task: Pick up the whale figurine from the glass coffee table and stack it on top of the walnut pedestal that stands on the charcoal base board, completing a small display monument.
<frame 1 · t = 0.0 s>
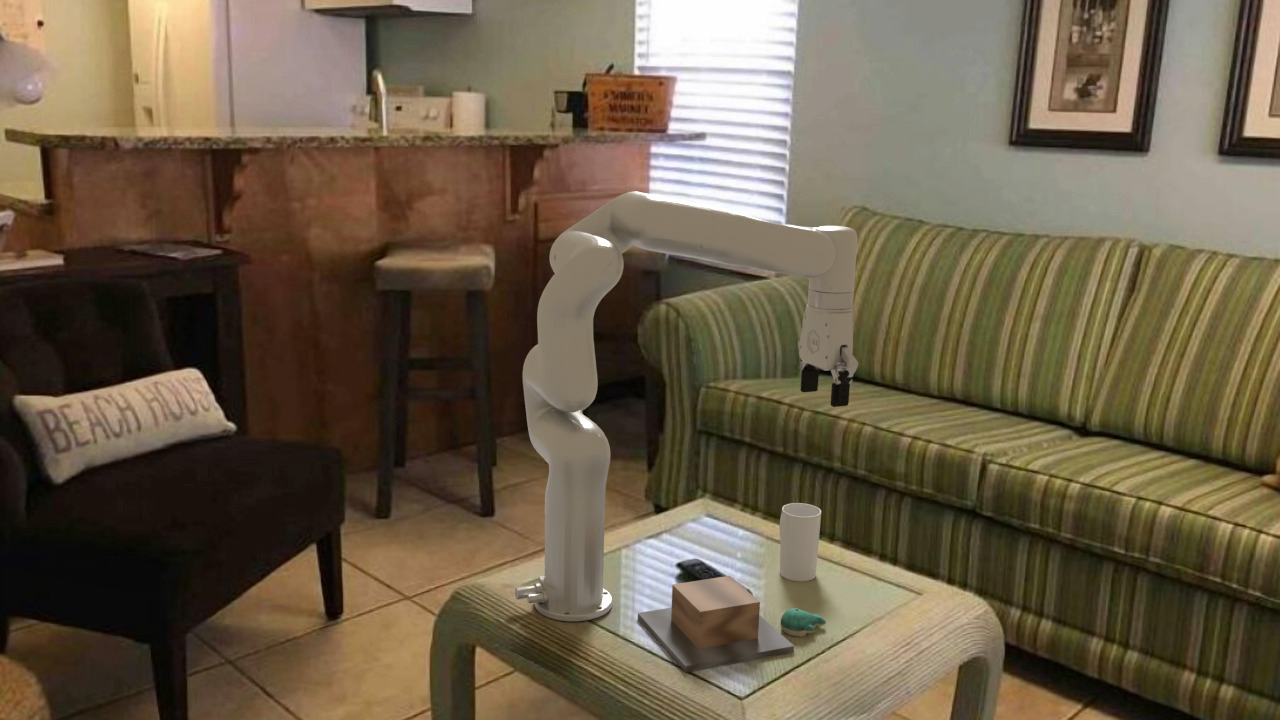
hand: (823, 398, 190), 31 cm above the table, fingers open, 9 cm apart
mug: (792, 571, 196), on the table
whale figurine: (802, 631, 175), on the table
display plinth: (713, 634, 172), on the table
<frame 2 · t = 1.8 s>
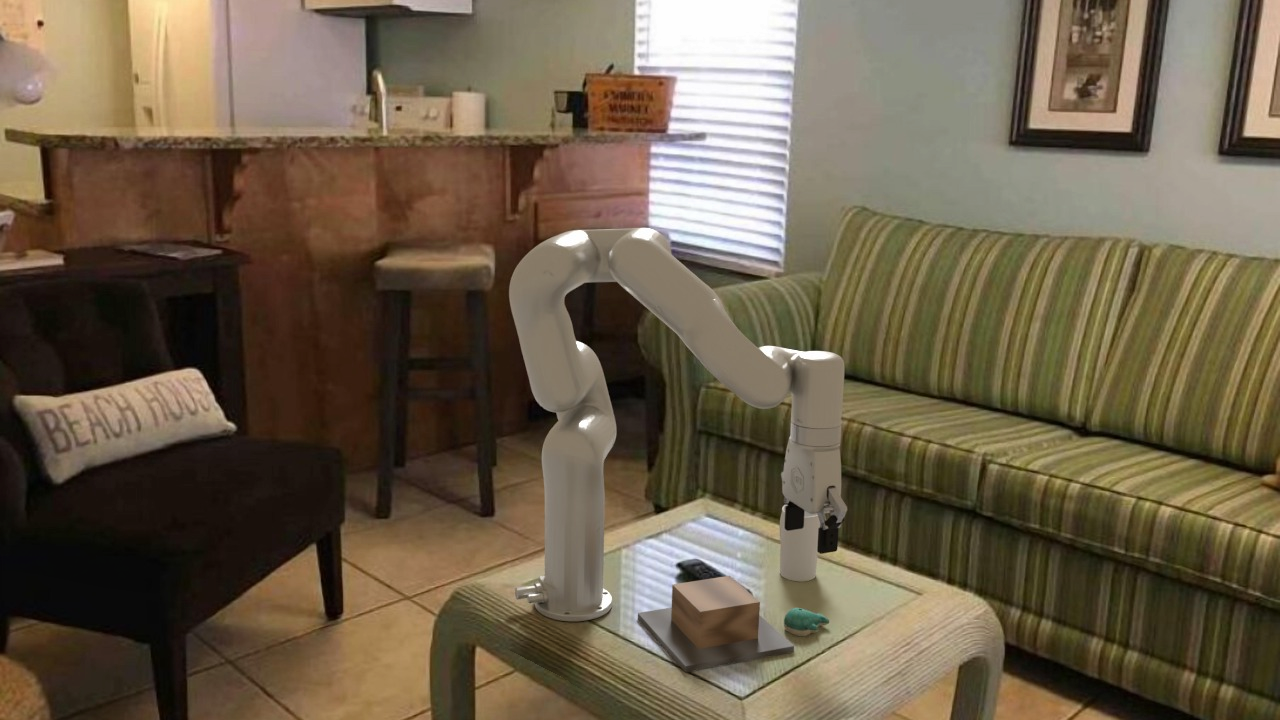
hand: (810, 540, 171), 15 cm above the table, fingers open, 9 cm apart
nothing on the table moved.
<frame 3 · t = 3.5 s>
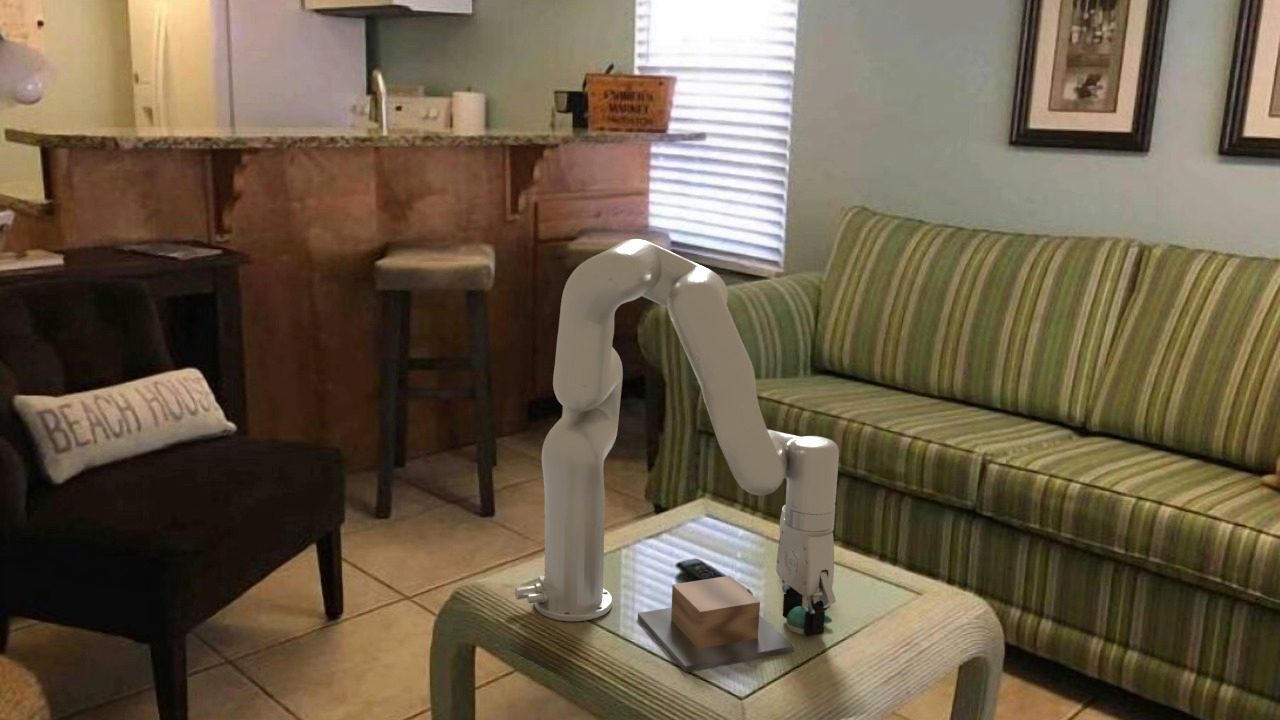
hand: (802, 624, 174), 1 cm above the table, fingers closed on whale figurine, 5 cm apart
whale figurine: (808, 629, 175), on the table, touching gripper
everything else where it was.
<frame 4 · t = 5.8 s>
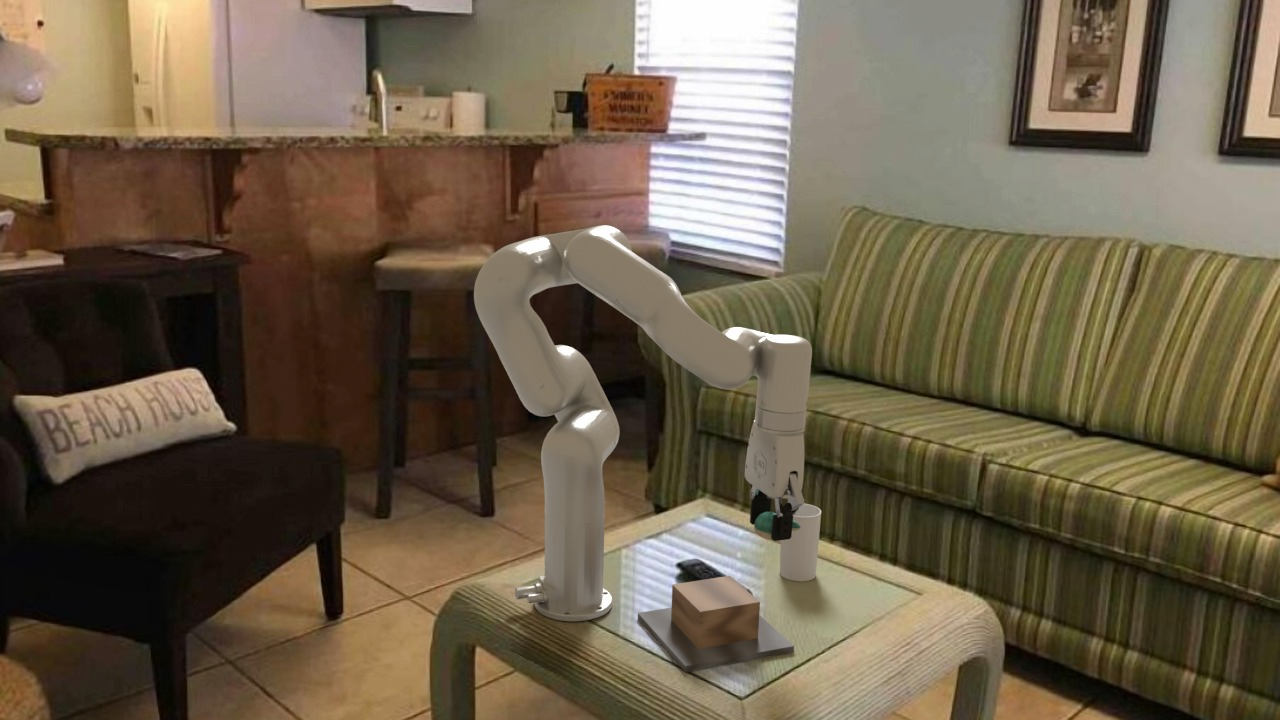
hand: (770, 530, 170), 17 cm above the table, fingers closed on whale figurine, 5 cm apart
whale figurine: (776, 536, 170), point 16 cm above the table, touching gripper
everything else where it was.
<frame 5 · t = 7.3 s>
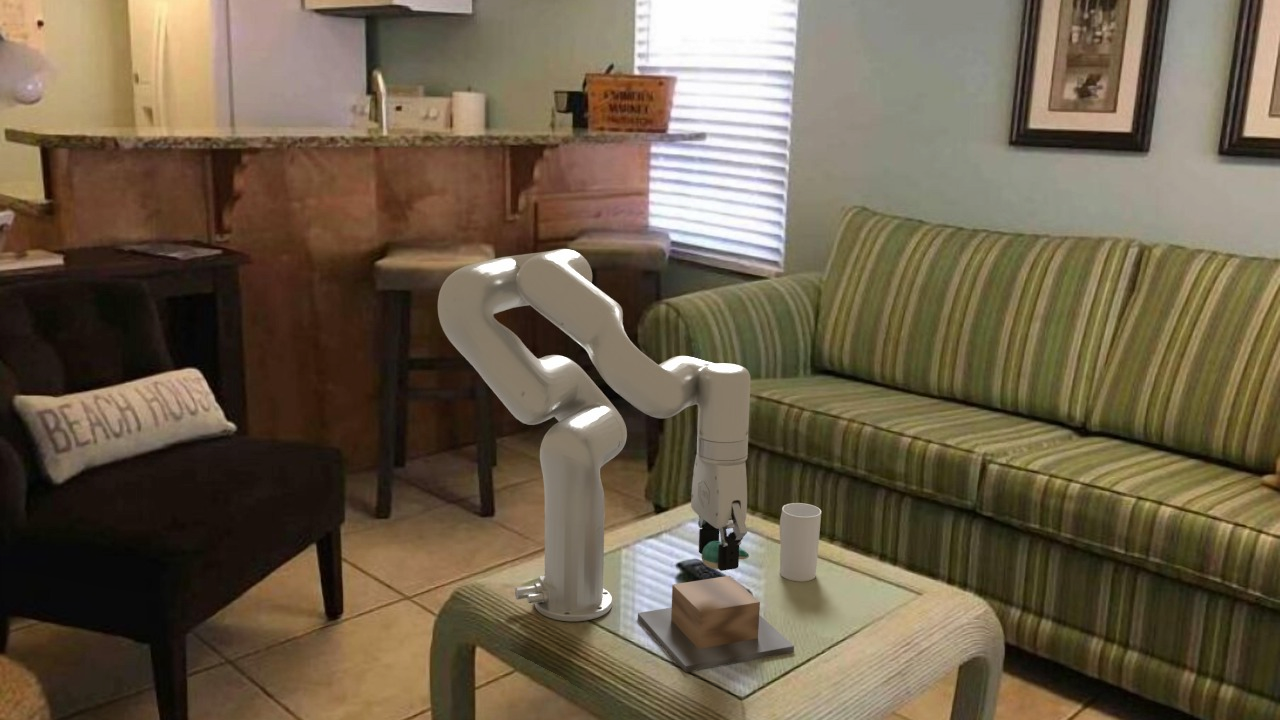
hand: (718, 559, 169), 13 cm above the table, fingers closed on whale figurine, 5 cm apart
whale figurine: (724, 565, 170), point 12 cm above the table, touching gripper
everything else where it was.
when the fingers open (9 cm above the table, at t = 8.4 s): whale figurine drops 1 cm, resting on display plinth.
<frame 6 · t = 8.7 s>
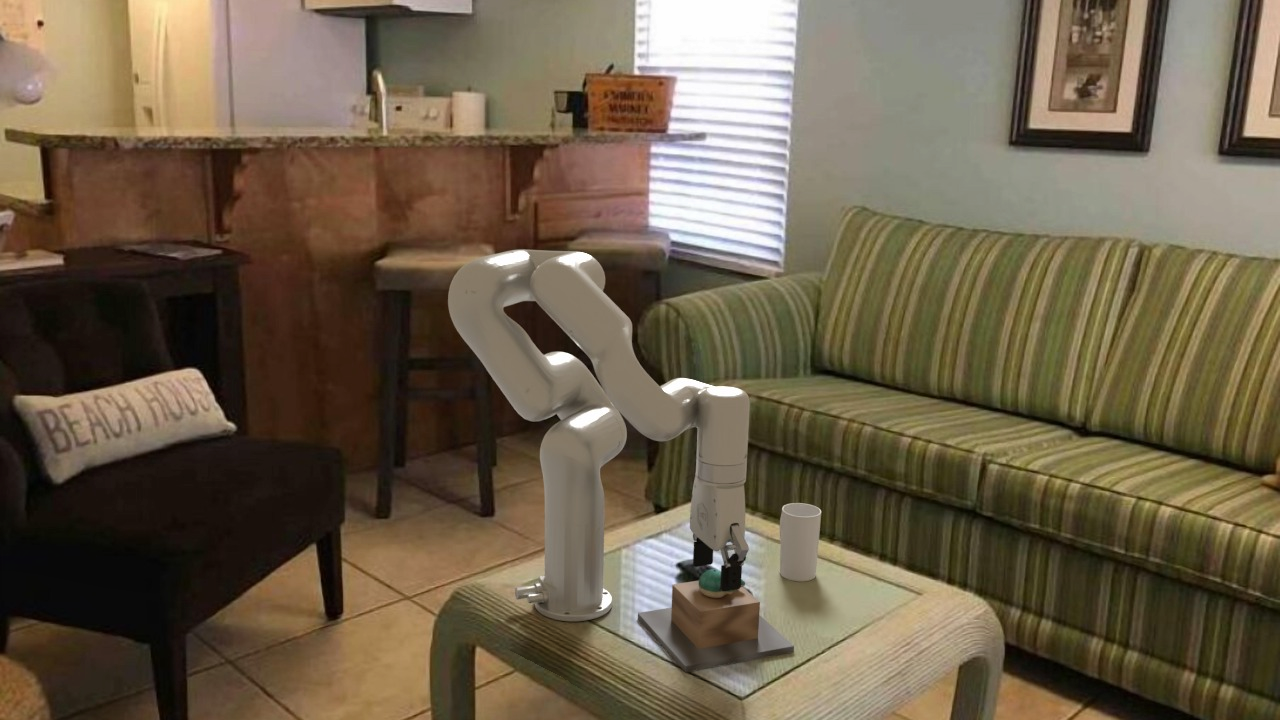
hand: (716, 576, 170), 10 cm above the table, fingers open, 9 cm apart
whale figurine: (721, 593, 171), point 7 cm above the table, touching display plinth
everything else where it was.
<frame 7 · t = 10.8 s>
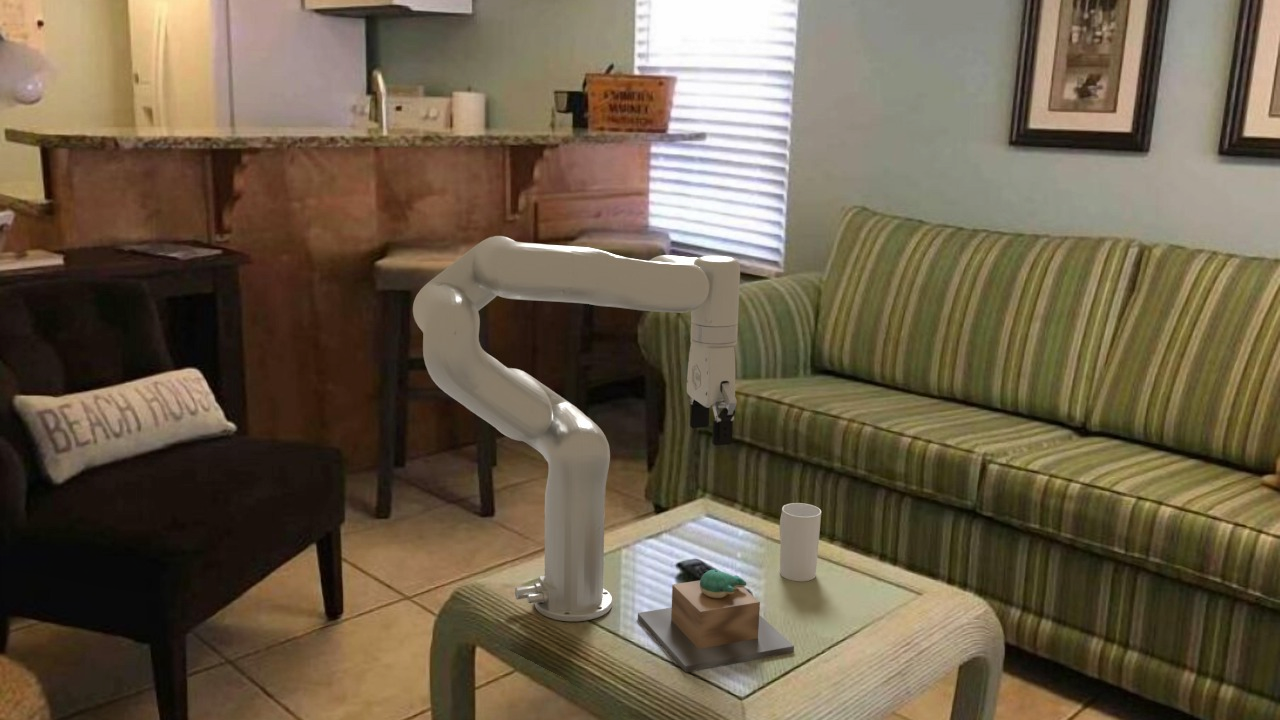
hand: (710, 435, 182), 27 cm above the table, fingers open, 9 cm apart
nothing on the table moved.
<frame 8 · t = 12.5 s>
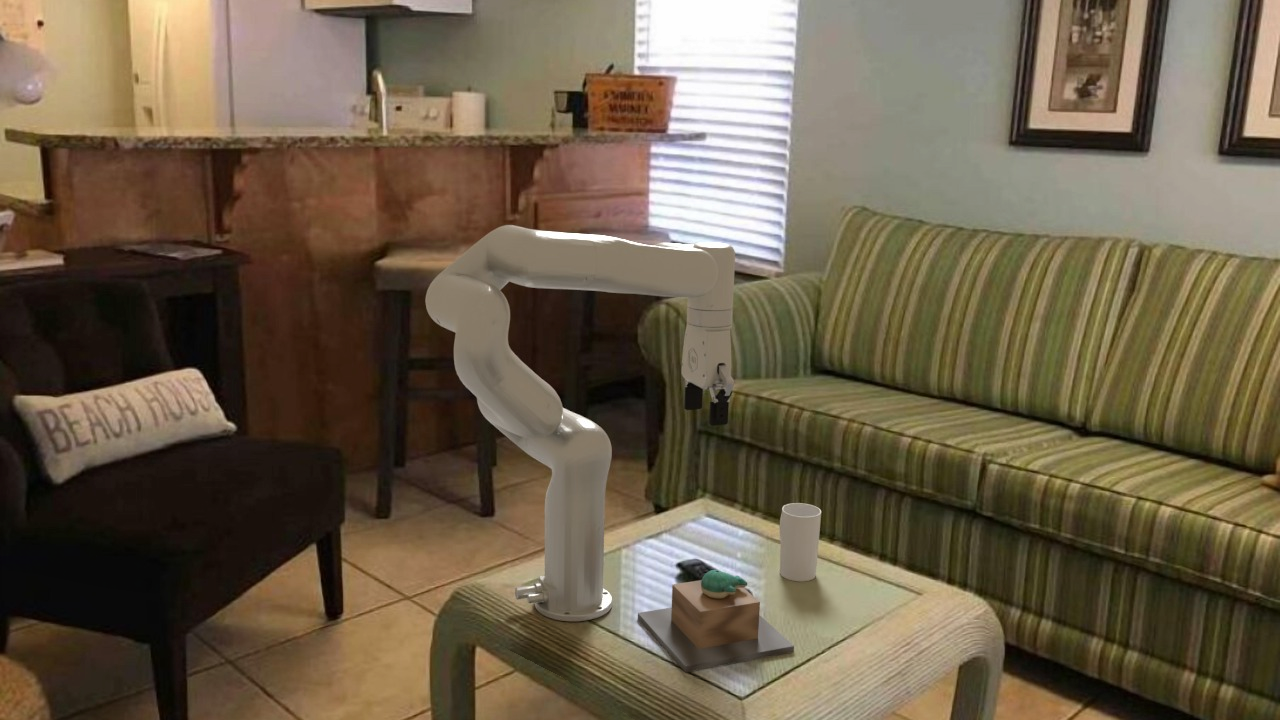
hand: (705, 416, 188), 28 cm above the table, fingers open, 9 cm apart
nothing on the table moved.
at the end: whale figurine inside the target area on the display plinth (1.3 cm from its centre), point 6.8 cm above the display plinth's base; whale figurine tilted 0°; the gripper is holding nothing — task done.
